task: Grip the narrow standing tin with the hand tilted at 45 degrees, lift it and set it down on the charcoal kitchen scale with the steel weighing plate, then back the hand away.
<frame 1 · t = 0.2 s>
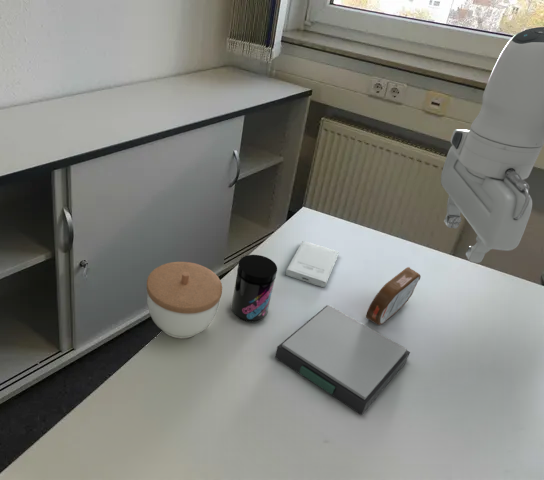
hand: (460, 241, 80), 24 cm above the table, tool pointing down, fingers open, 8 cm apart
tin: (387, 313, 102), on the table
scale: (340, 359, 91), on the table
supplement container: (248, 312, 99), on the table
hard drive: (311, 266, 113), on the table
lidded bowl: (180, 325, 95), on the table
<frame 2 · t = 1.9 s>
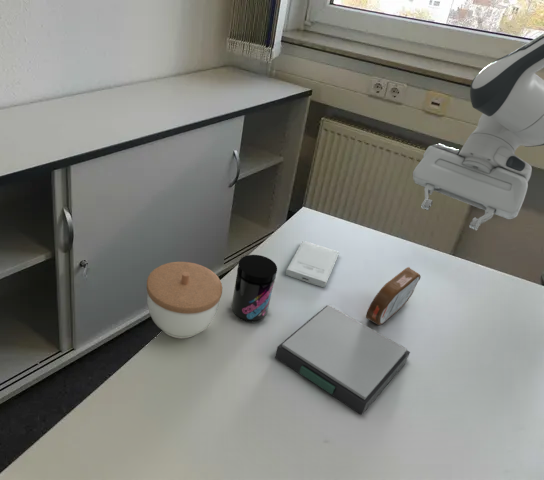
hand: (448, 217, 105), 15 cm above the table, tool tilted 45°, fingers open, 8 cm apart
nothing on the table moved.
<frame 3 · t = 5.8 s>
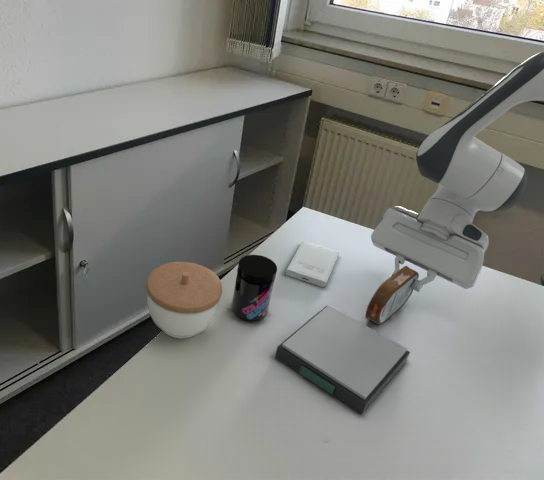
hand: (404, 284, 103), 5 cm above the table, tool tilted 45°, fingers closed on tin, 3 cm apart
tin: (387, 313, 102), on the table, touching gripper
everything else where it was.
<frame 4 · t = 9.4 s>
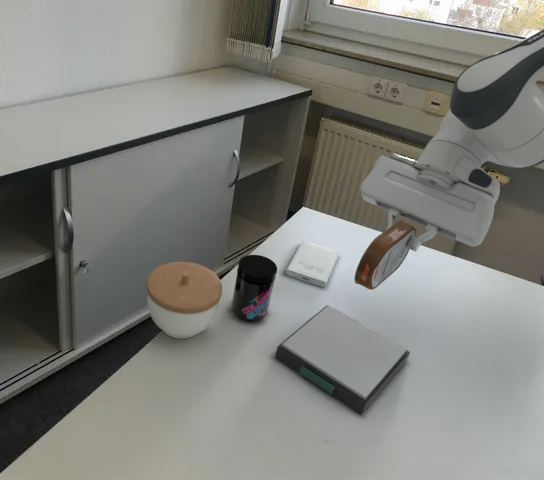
hand: (399, 243, 86), 19 cm above the table, tool tilted 45°, fingers closed on tin, 2 cm apart
tin: (380, 277, 86), point 15 cm above the table, touching gripper
everything else where it was.
when the fingers open (8 cm above the table, at t = 12.9 s): tin stays where it is, resting on scale.
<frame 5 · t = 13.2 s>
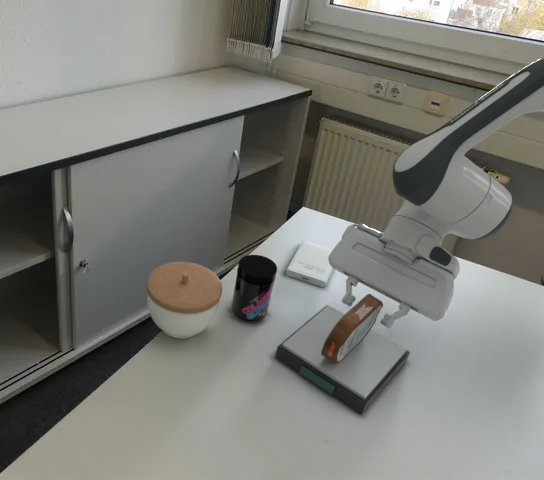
hand: (364, 314, 89), 7 cm above the table, tool tilted 45°, fingers open, 6 cm apart
tin: (346, 347, 89), point 3 cm above the table, touching scale
everything else where it was.
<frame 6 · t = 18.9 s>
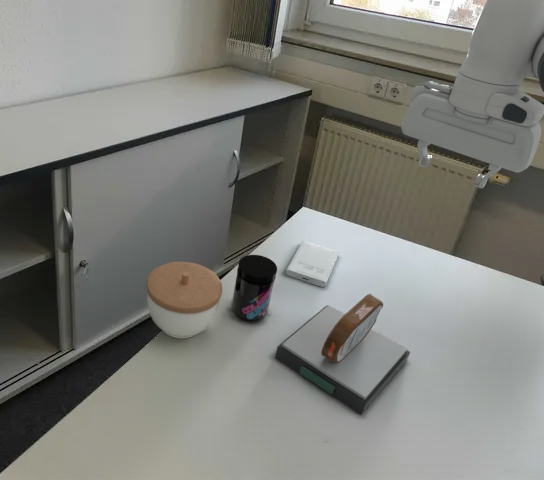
hand: (450, 175, 91), 27 cm above the table, tool pointing down, fingers open, 8 cm apart
nothing on the table moved.
at the end: tin inside the target area on the scale (0.3 cm from its centre), point 2.9 cm above the scale's base; tin tilted 0°; the gripper is holding nothing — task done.
